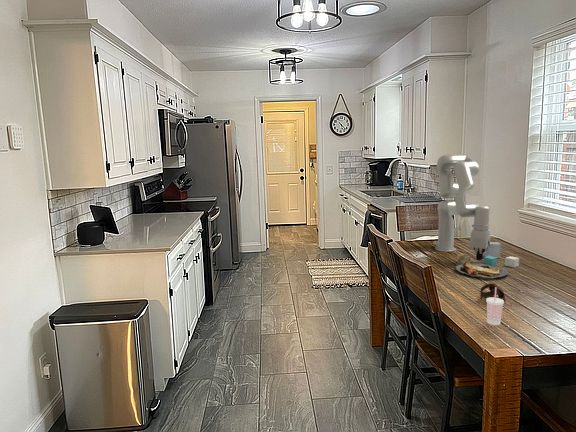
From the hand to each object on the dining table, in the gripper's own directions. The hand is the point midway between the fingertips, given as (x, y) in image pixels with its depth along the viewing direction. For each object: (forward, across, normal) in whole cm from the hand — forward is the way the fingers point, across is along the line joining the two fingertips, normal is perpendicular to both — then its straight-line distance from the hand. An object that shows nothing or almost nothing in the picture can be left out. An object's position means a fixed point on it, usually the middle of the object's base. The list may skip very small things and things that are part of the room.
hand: (479, 259), depth 246 cm
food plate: (+2, +11, -17) cm, 21 cm away
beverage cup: (+2, +50, -72) cm, 87 cm away
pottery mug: (+2, +36, -49) cm, 61 cm away
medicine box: (+2, -2, +16) cm, 16 cm away
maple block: (+2, -5, -8) cm, 9 cm away
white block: (+2, +14, +8) cm, 17 cm away
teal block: (+2, +6, 0) cm, 7 cm away
